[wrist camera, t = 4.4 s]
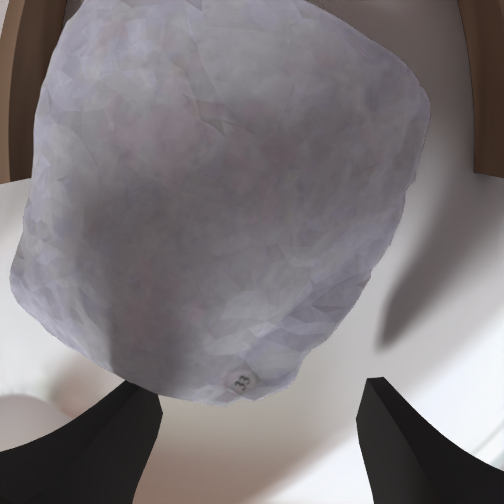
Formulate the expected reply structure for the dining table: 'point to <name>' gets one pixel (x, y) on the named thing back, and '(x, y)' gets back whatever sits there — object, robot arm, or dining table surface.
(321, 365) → the dining table surface
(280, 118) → the stone block
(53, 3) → the walnut corral
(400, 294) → the dining table surface
